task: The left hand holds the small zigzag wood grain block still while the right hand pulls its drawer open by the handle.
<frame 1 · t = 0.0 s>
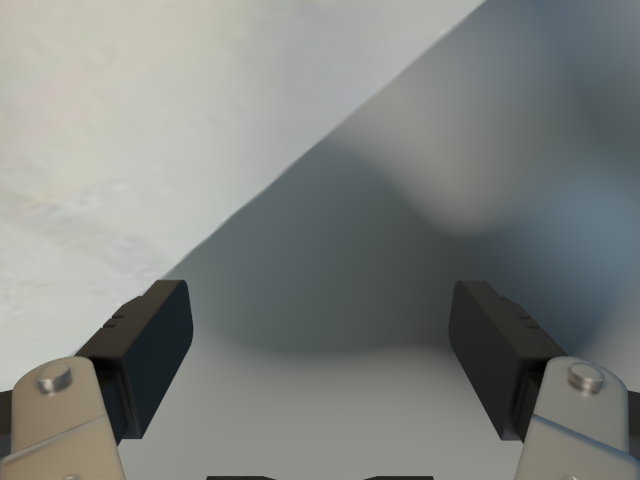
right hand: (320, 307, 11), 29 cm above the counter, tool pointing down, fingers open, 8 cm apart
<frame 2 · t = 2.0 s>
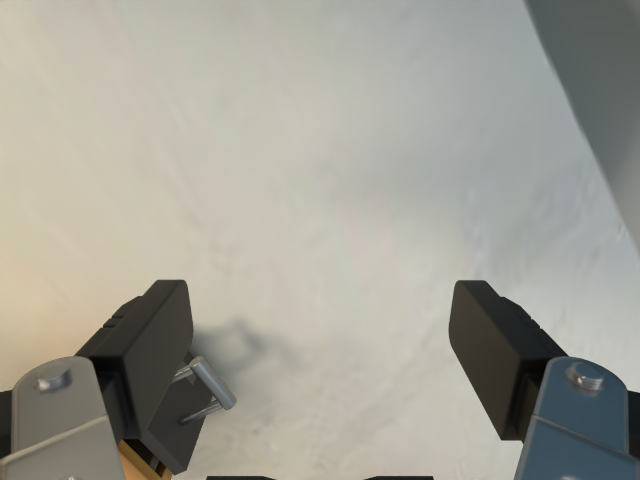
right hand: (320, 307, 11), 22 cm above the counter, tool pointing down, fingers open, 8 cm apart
zigzag wood grain block: (109, 391, 40), on the counter
drawer: (123, 414, 34), point 6 cm above the counter, slide at 1.0 cm
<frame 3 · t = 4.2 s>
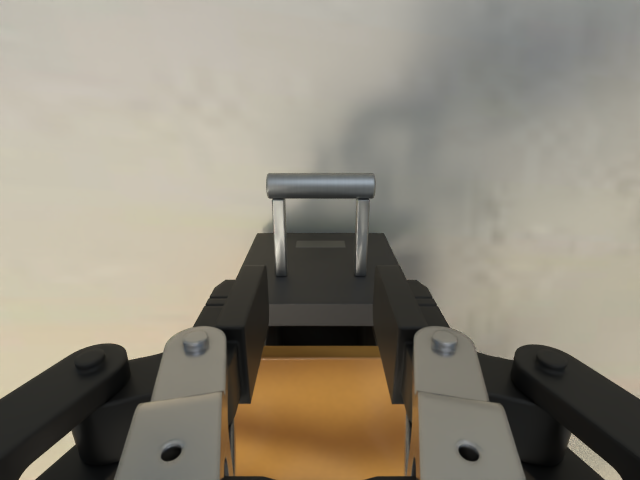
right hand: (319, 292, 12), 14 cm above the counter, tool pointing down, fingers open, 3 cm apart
zigzag wood grain block: (320, 358, 30), on the counter, touching left hand
drawer: (320, 345, 23), point 6 cm above the counter, slide at 1.0 cm
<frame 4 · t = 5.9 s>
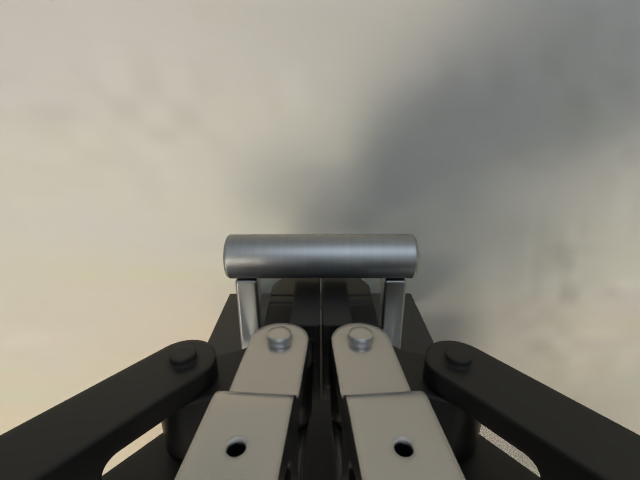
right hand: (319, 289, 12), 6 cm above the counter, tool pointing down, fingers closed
drawer: (320, 471, 16), point 6 cm above the counter, slide at 1.0 cm, touching right hand
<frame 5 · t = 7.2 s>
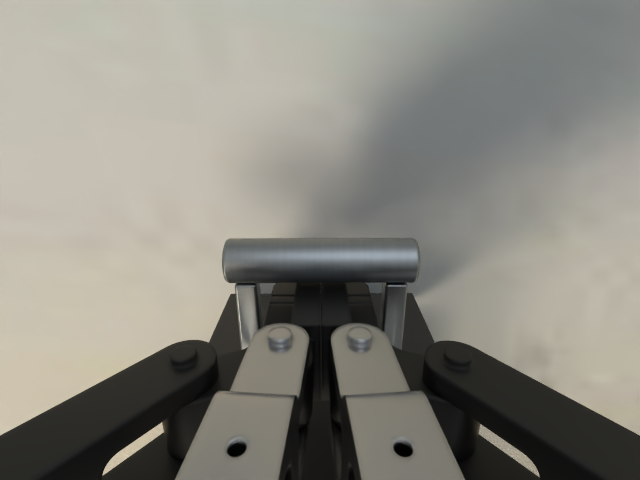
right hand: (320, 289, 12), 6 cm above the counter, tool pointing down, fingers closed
drawer: (322, 471, 16), point 6 cm above the counter, slide at 6.9 cm, touching right hand
when the left hand's fingers open (6 cm above the counter, at t = 8.6 s): zigzag wood grain block stays where it is, on the counter.
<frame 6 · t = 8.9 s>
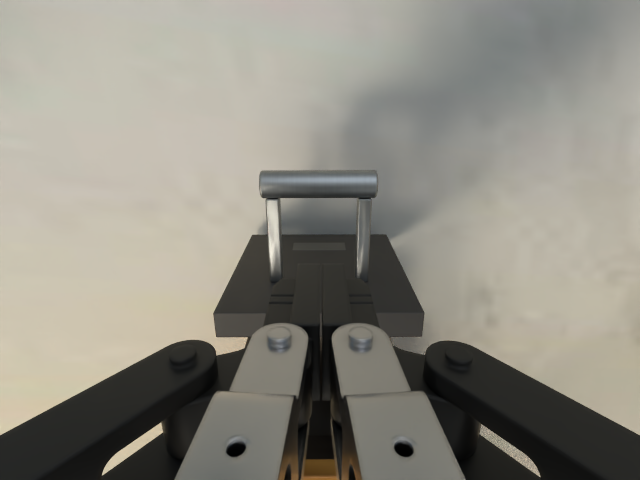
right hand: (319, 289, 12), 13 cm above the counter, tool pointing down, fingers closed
zigzag wood grain block: (319, 424, 31), on the counter
drawer: (319, 354, 22), point 6 cm above the counter, slide at 7.0 cm
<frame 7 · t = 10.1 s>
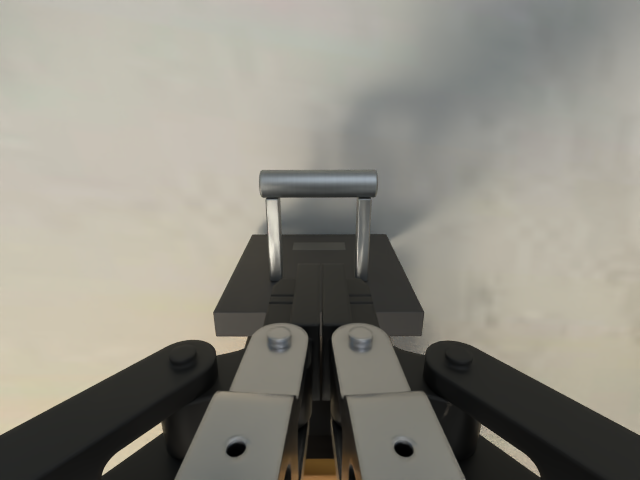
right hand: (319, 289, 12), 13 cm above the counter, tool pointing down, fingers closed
zigzag wood grain block: (319, 424, 31), on the counter
drawer: (319, 354, 22), point 6 cm above the counter, slide at 7.0 cm
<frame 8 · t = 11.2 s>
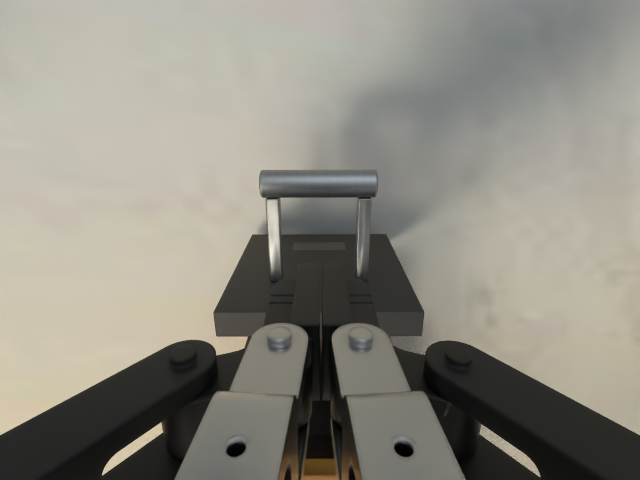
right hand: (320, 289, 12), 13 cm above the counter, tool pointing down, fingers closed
zigzag wood grain block: (319, 424, 31), on the counter
drawer: (319, 354, 22), point 6 cm above the counter, slide at 7.0 cm
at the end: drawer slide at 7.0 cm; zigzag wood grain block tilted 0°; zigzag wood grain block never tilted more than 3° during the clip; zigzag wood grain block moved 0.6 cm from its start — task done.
